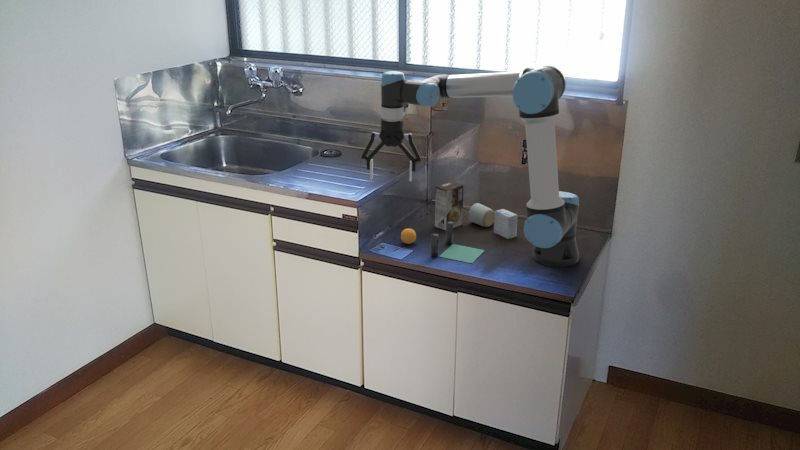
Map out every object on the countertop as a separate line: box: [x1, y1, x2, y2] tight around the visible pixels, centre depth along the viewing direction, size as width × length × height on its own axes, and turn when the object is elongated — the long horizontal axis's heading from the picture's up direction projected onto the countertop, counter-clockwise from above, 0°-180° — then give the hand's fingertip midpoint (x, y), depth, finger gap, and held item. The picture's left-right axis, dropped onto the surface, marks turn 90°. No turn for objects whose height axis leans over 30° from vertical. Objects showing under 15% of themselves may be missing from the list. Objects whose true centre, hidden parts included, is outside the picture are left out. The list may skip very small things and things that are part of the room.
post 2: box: [445, 221, 454, 246], centre depth 240 cm, size 3×3×8 cm
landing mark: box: [438, 243, 486, 264], centre depth 233 cm, size 12×12×1 cm
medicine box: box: [493, 208, 519, 240], centre depth 248 cm, size 8×4×9 cm, turn 34°
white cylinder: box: [467, 202, 495, 228], centre depth 258 cm, size 11×8×8 cm
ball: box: [400, 228, 417, 245], centre depth 241 cm, size 6×6×6 cm
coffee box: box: [434, 180, 464, 231], centre depth 255 cm, size 9×6×16 cm
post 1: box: [430, 232, 440, 259], centre depth 230 cm, size 3×3×8 cm
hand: (390, 179), depth 235 cm, fingers open, 13 cm apart
